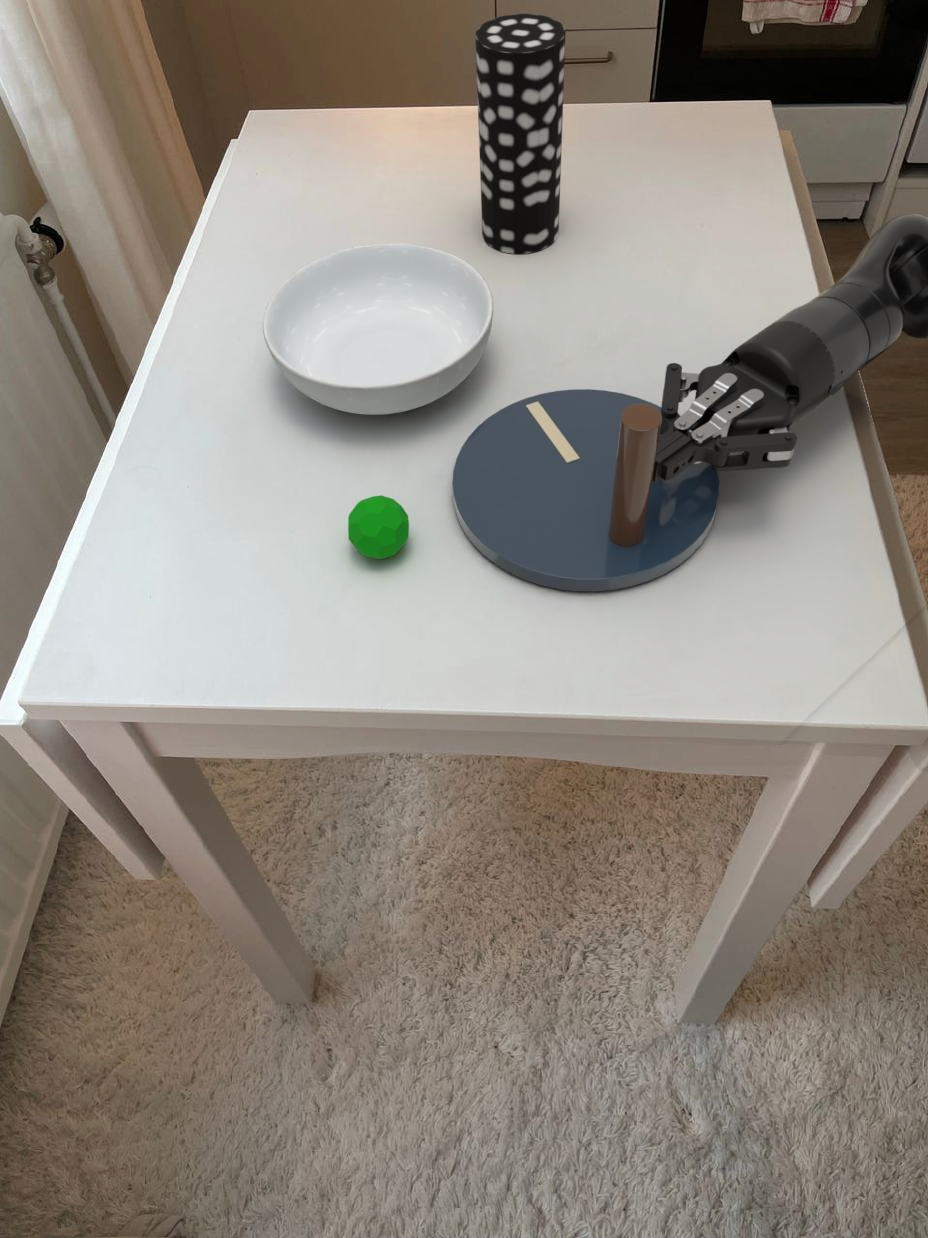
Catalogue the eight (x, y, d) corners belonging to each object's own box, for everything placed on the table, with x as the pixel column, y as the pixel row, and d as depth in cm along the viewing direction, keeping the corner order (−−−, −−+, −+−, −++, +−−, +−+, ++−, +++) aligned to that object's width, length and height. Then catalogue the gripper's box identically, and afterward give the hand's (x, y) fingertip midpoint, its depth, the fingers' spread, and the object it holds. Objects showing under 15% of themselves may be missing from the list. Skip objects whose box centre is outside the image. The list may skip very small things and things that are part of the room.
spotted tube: (471, 246, 103) (461, 46, 87) (498, 206, 107) (494, 9, 91) (544, 259, 101) (548, 57, 85) (568, 218, 105) (577, 18, 89)
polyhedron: (414, 566, 76) (408, 526, 73) (352, 573, 76) (344, 533, 73) (409, 521, 79) (404, 480, 76) (351, 527, 79) (342, 487, 76)
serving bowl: (238, 361, 93) (220, 300, 88) (414, 278, 100) (407, 217, 94) (353, 479, 83) (340, 419, 77) (540, 378, 89) (541, 315, 84)
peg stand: (414, 448, 84) (398, 318, 73) (633, 374, 89) (649, 242, 78) (522, 630, 72) (522, 507, 61) (770, 534, 76) (811, 403, 65)
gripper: (739, 287, 77) (587, 387, 71) (881, 363, 71) (727, 480, 64) (724, 362, 83) (582, 461, 77) (853, 438, 77) (710, 552, 70)
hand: (649, 469), depth 71 cm, fingers closed
